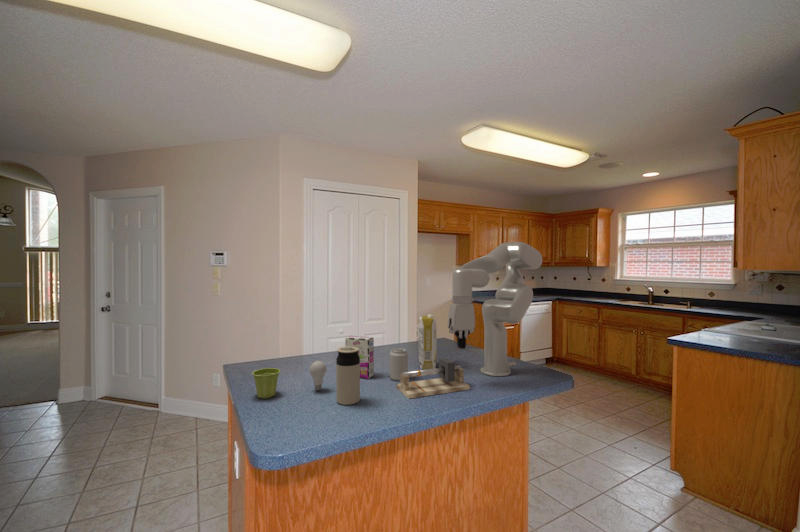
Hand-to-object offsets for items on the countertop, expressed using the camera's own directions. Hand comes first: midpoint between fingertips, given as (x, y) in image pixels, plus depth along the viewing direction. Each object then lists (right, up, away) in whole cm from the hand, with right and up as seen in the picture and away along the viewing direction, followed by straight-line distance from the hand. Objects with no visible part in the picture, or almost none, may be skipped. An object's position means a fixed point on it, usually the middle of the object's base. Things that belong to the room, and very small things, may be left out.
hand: (461, 347), depth 141 cm
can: (-24, -15, +8) cm, 30 cm away
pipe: (-12, -9, -4) cm, 15 cm away
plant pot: (-72, -15, -11) cm, 74 cm away
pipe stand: (-12, -14, -4) cm, 19 cm away
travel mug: (-42, -15, -16) cm, 47 cm away
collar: (-6, -11, -2) cm, 13 cm away
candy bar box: (-41, -15, +11) cm, 45 cm away
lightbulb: (-54, -15, -6) cm, 57 cm away
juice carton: (-11, -14, +24) cm, 30 cm away
